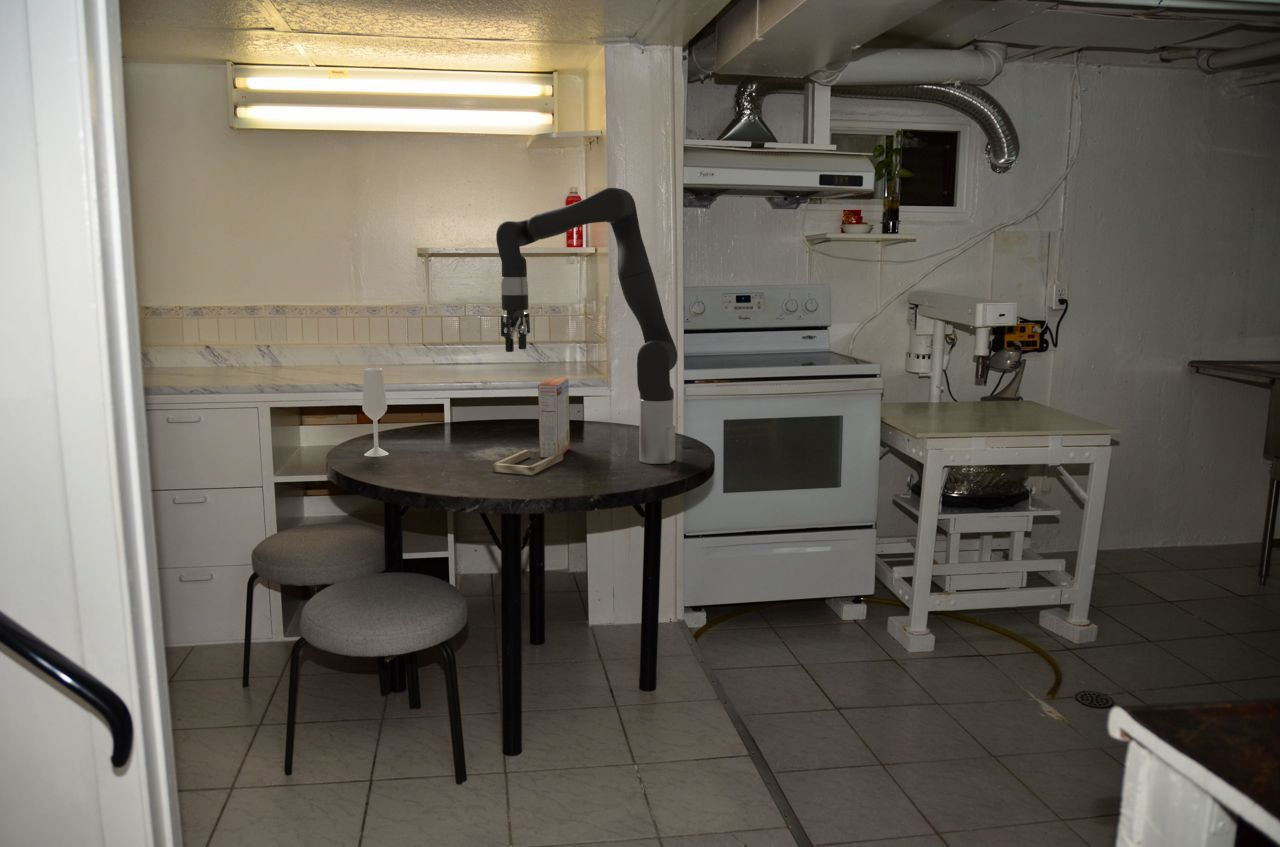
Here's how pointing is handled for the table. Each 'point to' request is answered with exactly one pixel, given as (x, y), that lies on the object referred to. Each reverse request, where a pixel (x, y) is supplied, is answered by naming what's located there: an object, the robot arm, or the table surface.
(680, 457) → the table surface
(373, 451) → the champagne flute
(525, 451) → the outline frame
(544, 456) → the cracker box
